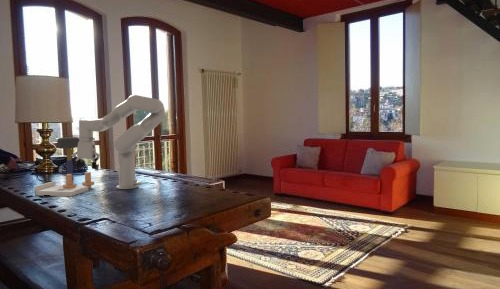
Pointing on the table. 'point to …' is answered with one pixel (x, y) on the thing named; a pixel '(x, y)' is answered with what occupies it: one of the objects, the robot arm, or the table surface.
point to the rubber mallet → (68, 150)
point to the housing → (60, 188)
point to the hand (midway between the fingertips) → (86, 168)
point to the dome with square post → (88, 180)
